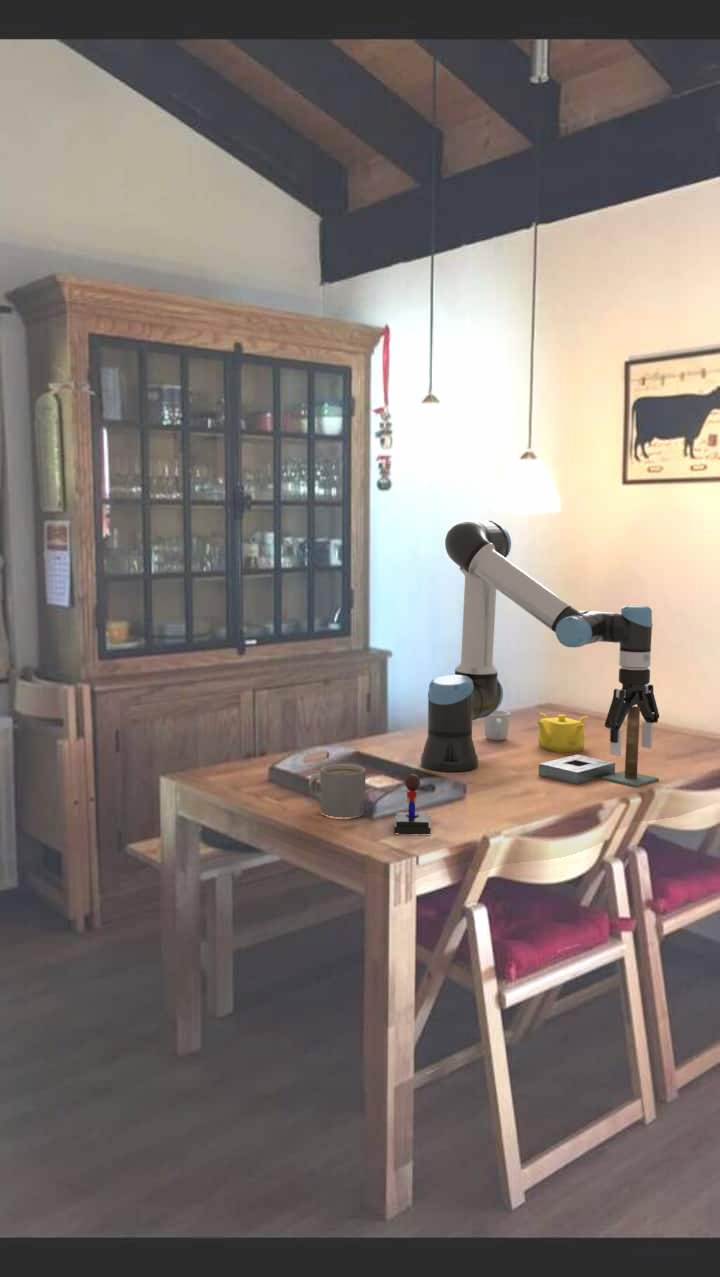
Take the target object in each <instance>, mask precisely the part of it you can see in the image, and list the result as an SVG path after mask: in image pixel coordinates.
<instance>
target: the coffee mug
mask: <svg viewBox="0 0 720 1277" xmlns="http://www.w3.org/2000/svg"><path fill="white" fill-rule="evenodd" d="M317 781H319V783H320V788H319V789H320V790H319V791H320V792H319V791H318V790H317V789H316V788H317V787H316V782H317ZM308 791H309V794H310V795H311V797H312V798H313V799H316V800H317V801H318V802H319V803H320V804H319V805H320V806H319V807H320V809H319V810H320V811H321V812H322V813H323V814H325V815H328V816H333V817H343V818H345V817H354V816H356V815H358V814H359V811H360V806H361V805H360V804H361V801H362V799H364V798H365V799H366V768H365V767H364V766H361V765H357V764H352V763H351V764H350V763H335V764H329V765H324V766H322V767H321V768H320V772H317V773H314V774H312V775H311V776H310V778H309V781H308ZM320 811H319V812H320Z"/></svg>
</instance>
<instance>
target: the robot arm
mask: <svg viewBox="0 0 720 1277" xmlns="http://www.w3.org/2000/svg"><path fill="white" fill-rule="evenodd" d="M445 535H446V536H445V539H444V545H445V546H444V547H445V552H446V553H447V554H446V555H448V557H449V558H450V559H451V560H452V561H453V562H454V563H455V564H456V565H458V566H459V571H461V573H462V574H463V576H464V593H463V595H464V597H463V616H462V617H463V618H462V636H461V637H462V638H461V656H460V657H461V658H460V663H459V664H458V666H456V667H455V669H454V674H447V675H442V676H437V677H435V678H433V679H432V680H431V681H430V682H429V685H428V692H427V706H428V707H427V712H428V713H427V714H428V715H427V738H426V741H425V744H424V748H423V751H422V753H421V755H420V766H422V767H423V768H425V769H428V770H431V771H432V770H433V771H437V772H439V771H440V772H455V773H456V772H466V771H471V770H472V771H473V770H475V769H476V768H478V766H479V757H478V755H477V753H476V748H475V744H474V740H473V721H475V720H478V719H481V718H482V719H484V717H486V716H488V715H490V714H491V713H493V712H494V711H496V710H499V707H500V706H501V705H502V702H503V700H504V699H503V698H504V689H503V685H502V684H501V682H500V681H499V678H498V675H499V674H498V670H497V668H496V667H495V666H494V665H493V664H494V663H493V658H494V642H495V640H494V639H495V638H494V637H495V623H496V622H495V619H496V618H495V617H496V604H497V603H496V600H497V599H496V598H497V591H498V592H500V593H501V594H503V595H504V596H505V597H507V598H508V599H509V600H511V601H512V602H513V603H515V604H516V605H518V606H519V607H520V608H521V609H523V610H524V611H525V612H526V613H528V614H529V615H531V616H532V617H534V619H536V620H537V621H538V622H540V623H541V624H543V625H544V626H546V627H547V628H548V629H550V630H551V631H552V632H554V633H555V636H556V637H557V638H556V639H557V640H558V642H559V643H560V644H561V645H563V646H564V647H566V648H580V647H583V646H586V645H591V644H594V643H597V642H599V643H601V642H602V643H614V644H615V643H616V644H618V643H619V654H618V657H619V659H618V665H619V667H620V668H619V669H618V682H619V683H620V684H621V685H622V687H621V689H620V688H614V690H613V693H612V694H613V695H612V696H613V697H612V701H611V703H610V705H609V710H608V713H607V716H606V720H605V723H604V728H606V729H609V730H610V731H609V732H610V733H609V734H610V736H609V738H610V739H609V740H610V746H609V747H610V748H609V749H610V750H609V755H611V756H616V757H621V756H622V742H623V741H622V739H623V729H621V727H622V725H623V723H624V721H625V719H626V718H627V713H628V711H629V709H630V708H632V706H637V707H640V714H641V716H642V718H643V719H644V721H642V723H641V746H640V747H642V748H647V749H650V750H651V749H653V739H654V736H653V734H654V724H657V723H658V722H659V719H660V713H659V709H658V705H657V701H656V698H655V694H654V685H653V684H650V681H651V670H650V669H649V668H650V667H651V659H652V656H651V651H652V635H653V634H652V632H653V624H654V623H653V612H652V608H650V606H646V605H638V604H636V605H631V604H629V605H628V604H627V605H623V606H622V607H621V608H620V612H605V611H596V610H595V611H593V610H579V611H578V610H577V609H576V608H574V607H572V605H570V604H569V603H568V602H566V601H565V600H563V598H560V597H559V596H558V595H556V594H555V593H553V591H551V590H549V589H548V588H547V587H546V586H544V585H543V584H541V583H540V582H538V581H537V580H536V579H534V578H533V577H532V576H530V575H529V574H527V572H525V571H524V570H522V569H521V568H519V567H518V566H517V565H515V564H514V563H512V562H511V561H510V560H508V559H507V557H508V556H509V554H510V551H511V548H512V540H511V535H510V533H509V532H508V530H507V529H506V528H505V526H503V525H502V524H501V523H499V522H498V521H493V520H488V519H480V520H479V519H477V520H472V519H471V520H470V519H467V520H461V521H458V522H456V523H455V524H454V525H452V526H451V527H450V528H449V530H448V531H447V533H446V534H445Z"/></svg>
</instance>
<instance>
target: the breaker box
mask: <svg viewBox="0 0 720 1277" xmlns="http://www.w3.org/2000/svg"><path fill="white" fill-rule="evenodd" d="M615 773H616V762H614V761H609V760H604V759H601V758H600V759H599V758H595V757H590V756H585V755H581V754H574V755H570V756H565V757H561V758H557V759H552V760H549V761H548V760H547V761H545V762H540V763H538V775H539V776H542V777H544V778H549V779H553V780H559V781H562V782H566V783H570V784H575V785H579V784H583V783H587V782H590V781H594V780H598V779H602V777H603V776H607V775H611V774H615Z"/></svg>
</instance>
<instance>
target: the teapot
mask: <svg viewBox="0 0 720 1277" xmlns="http://www.w3.org/2000/svg"><path fill="white" fill-rule="evenodd" d="M539 714H540V716H541V720H534V722H535V723H537V725H538V728H539V730H538V736H537V737H538V738H537V742H538V746H539V747H540V748H542V749H544V750H547V749H548V751H551V752H555V753H559V754H564V753H574V752H581V750H582V751H584V748H585V731H584V726H585V724H584V723H585V721H586V719H587V718H588V717H589V716H588V715H584V716H581V717H580V718H579V720H576V719H573V718H570V717H567V715H566V714H558V715H557V716H556V717H548V716H547V714H545V713H544V712H539ZM573 751H574V752H573Z"/></svg>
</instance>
